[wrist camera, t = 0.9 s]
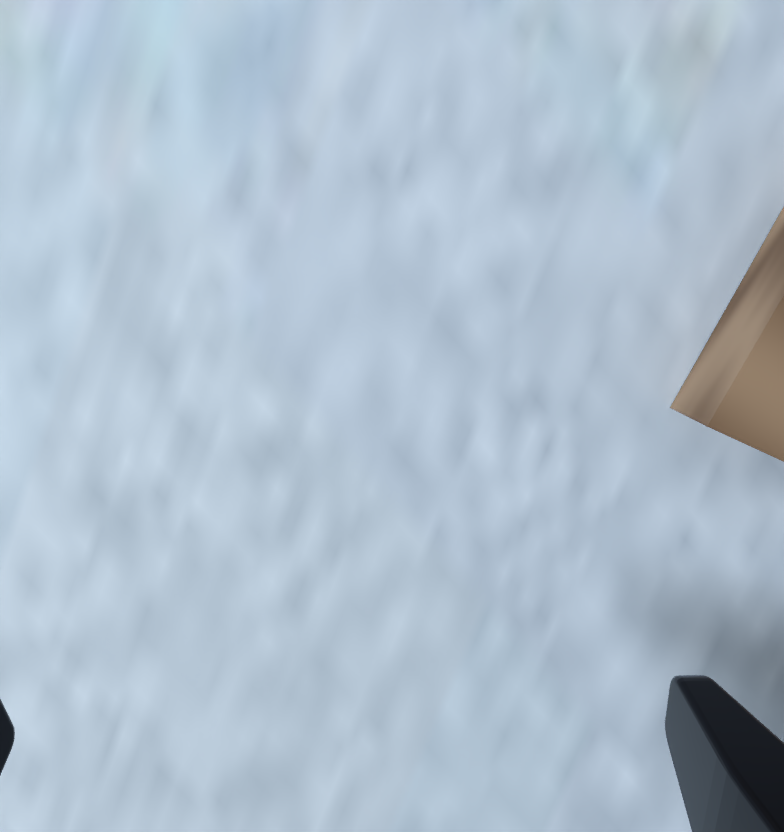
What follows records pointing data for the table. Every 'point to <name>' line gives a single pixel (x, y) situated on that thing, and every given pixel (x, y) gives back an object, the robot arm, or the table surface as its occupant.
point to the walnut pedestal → (745, 358)
